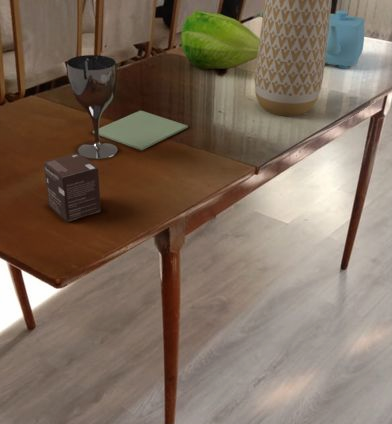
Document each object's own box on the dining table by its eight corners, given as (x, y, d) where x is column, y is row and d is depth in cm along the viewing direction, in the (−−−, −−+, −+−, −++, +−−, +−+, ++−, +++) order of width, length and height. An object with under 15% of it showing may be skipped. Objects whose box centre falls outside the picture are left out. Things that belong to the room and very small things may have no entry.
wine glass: (66, 148, 113) (57, 60, 103) (103, 137, 117) (97, 52, 107) (92, 163, 108) (84, 73, 98) (129, 152, 112) (125, 64, 103)
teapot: (299, 70, 150) (307, 18, 143) (316, 50, 163) (323, 1, 156) (350, 78, 147) (361, 25, 140) (363, 57, 160) (373, 7, 153)
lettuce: (250, 86, 141) (255, 28, 133) (169, 71, 147) (170, 15, 139) (269, 68, 151) (275, 13, 143) (193, 55, 156) (195, 2, 148)
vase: (323, 120, 127) (353, -58, 107) (256, 119, 126) (274, -61, 106) (310, 96, 137) (336, -71, 117) (248, 95, 136) (263, -73, 116)
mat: (141, 150, 113) (141, 148, 113) (92, 133, 118) (92, 131, 118) (187, 127, 122) (187, 125, 122) (140, 112, 127) (140, 110, 127)
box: (48, 206, 97) (41, 161, 92) (82, 196, 100) (78, 151, 95) (67, 223, 93) (61, 177, 88) (102, 211, 96) (98, 166, 91)
